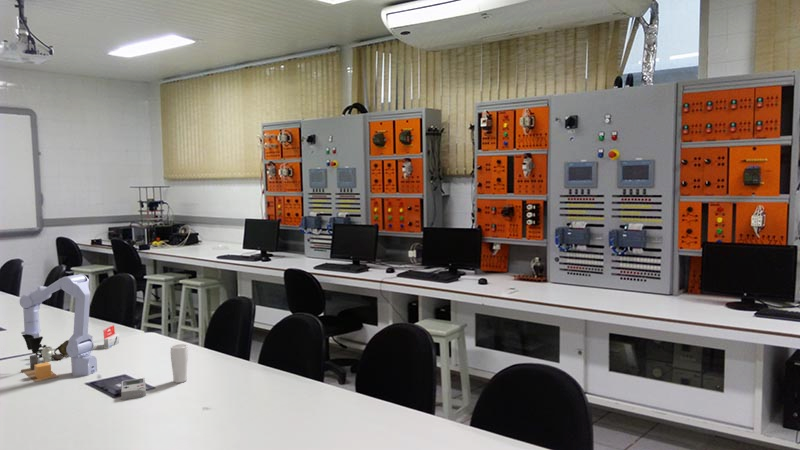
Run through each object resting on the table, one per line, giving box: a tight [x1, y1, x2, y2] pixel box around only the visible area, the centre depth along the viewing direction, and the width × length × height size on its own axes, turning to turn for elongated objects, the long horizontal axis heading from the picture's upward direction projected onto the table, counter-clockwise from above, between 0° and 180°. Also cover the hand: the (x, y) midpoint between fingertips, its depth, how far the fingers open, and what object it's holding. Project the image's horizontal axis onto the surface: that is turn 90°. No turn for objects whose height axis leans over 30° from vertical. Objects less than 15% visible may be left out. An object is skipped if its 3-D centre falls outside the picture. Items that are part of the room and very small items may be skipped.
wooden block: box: [20, 354, 60, 383], centre depth 254 cm, size 24×9×7 cm, turn 45°
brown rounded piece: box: [52, 339, 70, 361], centre depth 284 cm, size 7×13×10 cm
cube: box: [34, 362, 52, 379], centre depth 250 cm, size 5×5×5 cm
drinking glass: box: [170, 343, 189, 384], centre depth 246 cm, size 7×7×15 cm
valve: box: [35, 343, 54, 363], centre depth 279 cm, size 7×7×12 cm
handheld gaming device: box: [120, 377, 147, 400], centre depth 233 cm, size 9×14×4 cm, turn 25°
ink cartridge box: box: [102, 325, 120, 350], centre depth 302 cm, size 2×11×10 cm, turn 179°
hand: (33, 351), depth 260 cm, fingers open, 7 cm apart
